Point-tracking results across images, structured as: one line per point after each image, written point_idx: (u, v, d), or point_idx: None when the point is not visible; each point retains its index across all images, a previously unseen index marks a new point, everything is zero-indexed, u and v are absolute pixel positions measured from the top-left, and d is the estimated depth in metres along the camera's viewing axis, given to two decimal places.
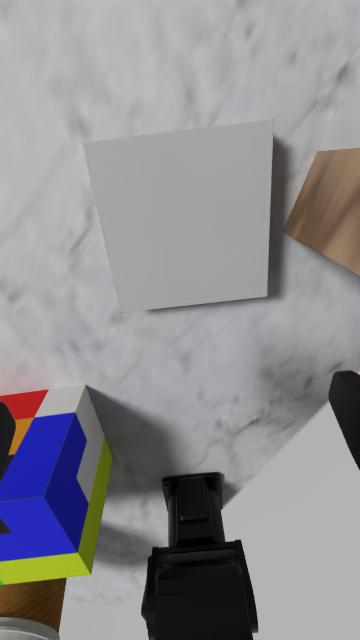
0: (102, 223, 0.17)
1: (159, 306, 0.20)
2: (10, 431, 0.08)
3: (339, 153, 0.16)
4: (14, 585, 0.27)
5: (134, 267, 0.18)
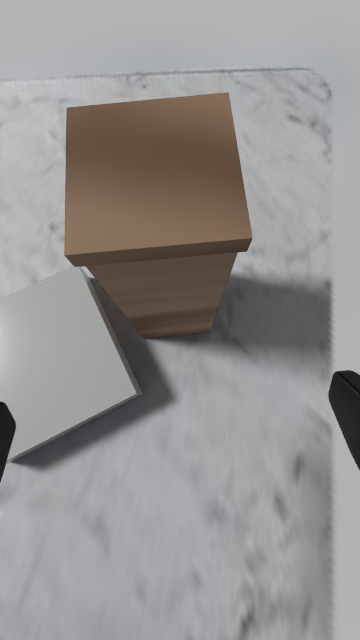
0: None
1: (26, 447, 0.18)
2: (10, 431, 0.08)
3: None
4: None
5: None
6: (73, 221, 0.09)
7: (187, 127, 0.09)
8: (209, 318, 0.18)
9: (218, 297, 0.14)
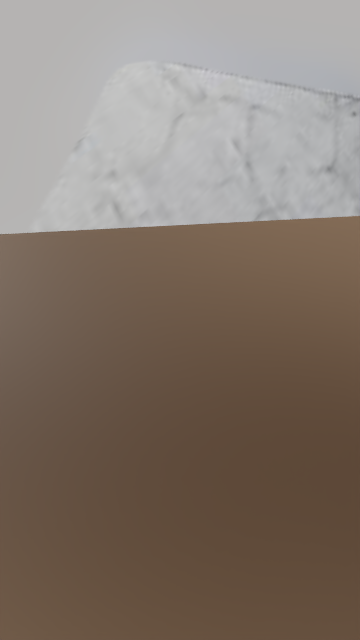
0: None
1: None
2: None
3: None
4: None
5: None
6: None
7: (320, 337, 0.03)
8: None
9: None
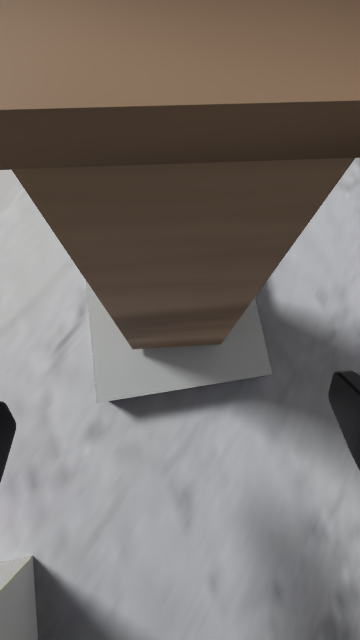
0: (89, 302, 0.18)
1: (144, 392, 0.16)
2: (10, 431, 0.08)
3: None
4: None
5: (117, 345, 0.17)
6: None
7: None
8: (228, 323, 0.13)
9: (256, 286, 0.09)
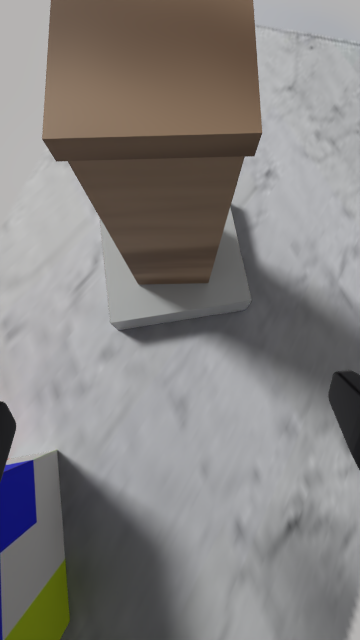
0: (103, 246, 0.22)
1: (148, 314, 0.20)
2: (10, 431, 0.08)
3: None
4: None
5: (126, 279, 0.21)
6: (54, 100, 0.07)
7: None
8: (208, 262, 0.17)
9: (219, 231, 0.13)
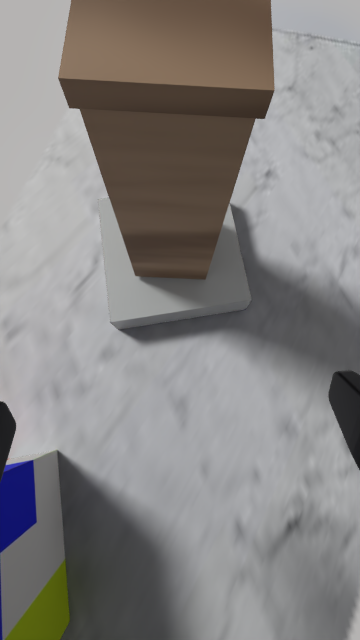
0: (104, 246, 0.22)
1: (148, 314, 0.20)
2: (10, 431, 0.08)
3: None
4: None
5: (126, 278, 0.21)
6: (73, 45, 0.07)
7: None
8: (207, 253, 0.17)
9: (221, 214, 0.13)
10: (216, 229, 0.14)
